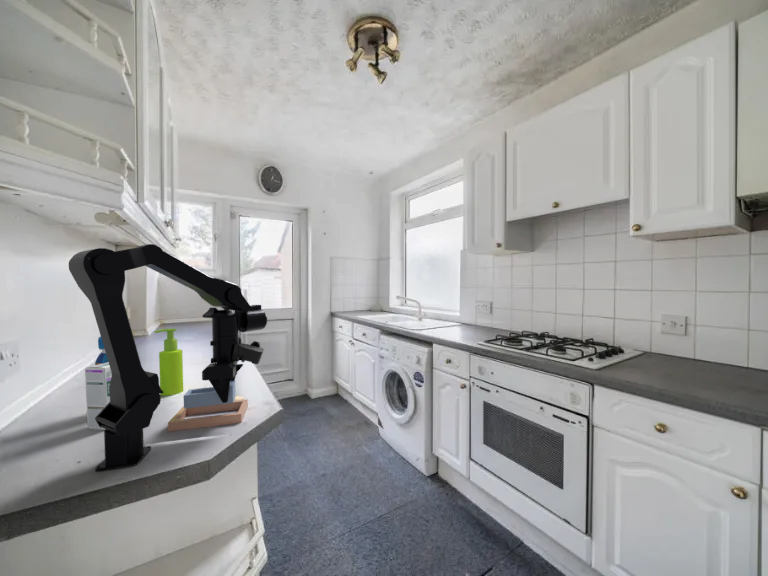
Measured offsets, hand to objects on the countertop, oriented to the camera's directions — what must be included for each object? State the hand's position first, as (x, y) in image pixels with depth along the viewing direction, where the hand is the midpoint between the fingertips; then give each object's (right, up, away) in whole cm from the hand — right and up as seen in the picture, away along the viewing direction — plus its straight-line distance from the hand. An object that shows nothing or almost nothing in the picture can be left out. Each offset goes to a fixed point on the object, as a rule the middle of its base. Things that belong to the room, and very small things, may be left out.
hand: (227, 398), depth 79 cm
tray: (-3, -5, -1) cm, 6 cm away
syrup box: (-27, -6, -2) cm, 28 cm away
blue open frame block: (-3, 0, -1) cm, 4 cm away
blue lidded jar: (-33, -6, +7) cm, 34 cm away
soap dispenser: (-26, -5, +19) cm, 33 cm away
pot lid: (-5, -5, +10) cm, 12 cm away
